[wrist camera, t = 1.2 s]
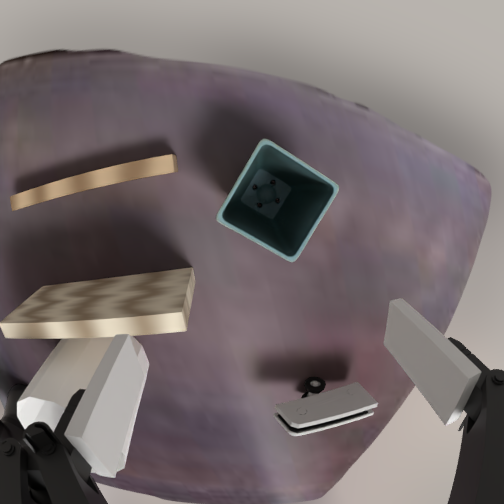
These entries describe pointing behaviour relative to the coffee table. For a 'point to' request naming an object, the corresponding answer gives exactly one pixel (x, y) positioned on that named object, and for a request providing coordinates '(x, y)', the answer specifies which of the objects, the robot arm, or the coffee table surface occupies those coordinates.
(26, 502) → the robot arm
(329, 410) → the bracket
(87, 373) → the container
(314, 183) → the flower pot
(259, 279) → the coffee table surface
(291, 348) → the coffee table surface
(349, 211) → the coffee table surface
